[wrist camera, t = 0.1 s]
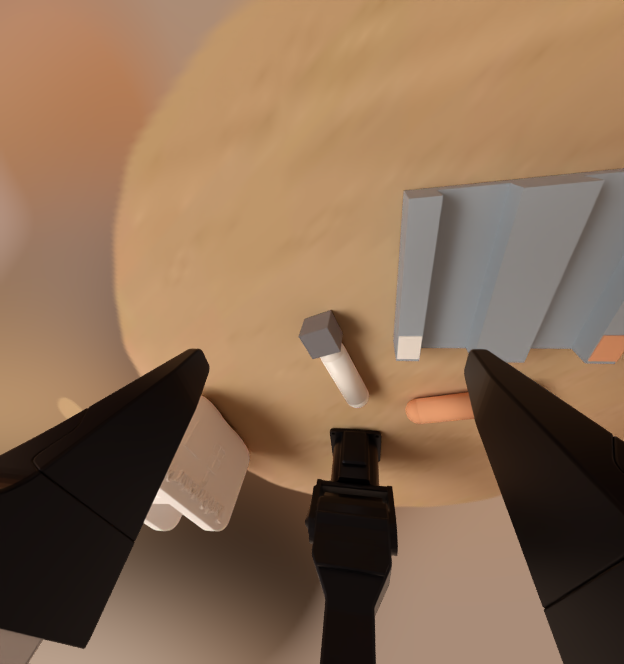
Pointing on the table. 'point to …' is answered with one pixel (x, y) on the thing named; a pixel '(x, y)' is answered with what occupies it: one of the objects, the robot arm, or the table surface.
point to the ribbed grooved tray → (514, 267)
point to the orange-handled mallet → (440, 408)
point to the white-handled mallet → (334, 356)
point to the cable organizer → (202, 474)
